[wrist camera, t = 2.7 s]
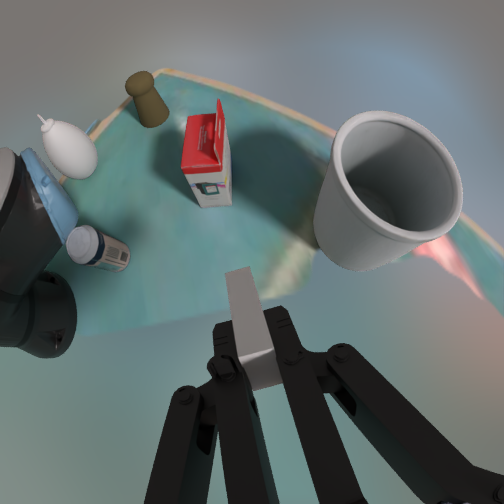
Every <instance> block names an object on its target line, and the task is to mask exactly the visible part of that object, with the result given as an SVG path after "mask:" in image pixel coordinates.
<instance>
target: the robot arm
mask: <svg viewBox="0 0 504 504" xmlns="http://www.w3.org/2000/svg"><path fill="white" fill-rule="evenodd" d="M77 221H78V210H77V208H76V206H75V205H74V203H73V202H72V200H71V199H70V197H69V196H68V195H67V193H66V192H65V190H64V189H63V188H62V186H61V185H60V184H59V182H58V181H57V180H56V178H55V177H54V176H53V174H52V173H51V172H50V170H49V169H48V167H47V166H46V165H45V164H44V162H43V161H42V160H41V158H40V157H39V156H38V155H37V154H36V152H35V151H33V150H32V148H27V149H25V150H24V151H22V152H21V153H20V156H17V155H16V154H15V153H14V152H13V151H12V150H10V149H9V148H1V149H0V347H18V348H20V349H22V350H24V351H26V352H28V353H30V354H32V355H34V356H36V357H39V358H55V357H59V356H60V355H62V354H63V353H64V352H65V351H66V350H67V349H68V348H69V346H70V344H71V342H72V340H73V338H74V335H75V331H76V324H77V309H76V303H75V299H74V295H73V293H72V290H71V288H70V286H69V285H68V283H67V282H66V281H65V280H64V279H63V278H62V277H61V276H59V275H57V274H55V273H52V272H49V271H45V270H44V269H45V267H46V266H47V265H48V263H49V262H50V261H51V259H52V258H53V257H54V255H55V254H56V253H57V252H58V250H59V249H60V248H61V246H62V245H64V244H65V242H66V239H67V237H68V236H69V234H70V233H71V232H72V230H73V229H74V227H75V226H76V224H77ZM225 277H226V284H227V290H228V297H229V304H230V310H231V316H232V320H230V321H226V322H222V323H218V324H216V325H215V327H214V329H213V345H214V357H212V358H211V359H210V360H209V362H208V363H207V369H208V371H209V373H210V374H211V376H212V379H211V380H210V381H208V382H207V383H205V384H203V385H202V386H200V387H198V388H195V387H193V386H189V385H188V386H183V387H180V388H178V389H177V391H175V392H174V394H173V396H172V399H171V403H170V406H169V409H168V413H167V416H166V420H165V423H164V427H163V431H162V434H161V438H160V442H159V445H158V449H157V453H156V457H155V461H154V464H153V468H152V472H151V476H150V480H149V484H148V488H147V493H146V496H145V501H144V504H206V503H207V497H208V491H209V484H210V478H211V472H212V466H213V459H214V453H215V447H216V440H217V434H218V432H219V440H220V448H221V456H222V464H223V470H224V478H225V485H226V491H227V498H228V504H279V499H278V495H277V491H276V487H275V483H274V479H273V474H272V470H271V466H270V462H269V457H268V453H267V449H266V445H265V440H264V436H263V432H262V428H261V422H260V418H259V413H258V409H257V404H256V400H255V398H254V396H253V391H255V390H259V389H263V388H267V387H271V386H274V385H277V384H281V383H283V385H284V388H285V391H286V394H287V398H288V402H289V405H290V408H291V412H292V415H293V418H294V422H295V425H296V428H297V432H298V435H299V438H300V442H301V445H302V448H303V451H304V455H305V458H306V461H307V465H308V468H309V471H310V474H311V478H312V481H313V484H314V487H315V491H316V494H317V497H318V500H319V504H368V502H367V501H366V499H365V498H364V496H363V494H362V492H361V489H360V487H359V484H358V481H357V479H356V476H355V474H354V471H353V468H352V466H351V464H350V461H349V458H348V455H347V453H346V450H345V448H344V446H343V443H342V440H341V438H340V435H339V433H338V430H337V427H336V425H335V422H334V420H333V417H332V415H331V412H330V410H329V407H328V405H327V402H326V400H325V397H324V395H323V393H330V395H331V396H332V397H333V398H334V399H335V401H336V402H337V403H338V404H339V406H340V407H341V408H342V409H343V410H344V412H345V413H346V414H347V415H348V417H349V418H350V419H351V420H352V421H353V422H354V424H355V425H356V426H357V427H358V429H359V430H360V431H361V432H362V433H363V435H364V436H365V437H366V438H367V439H368V441H369V442H370V443H371V444H372V445H373V446H374V448H375V449H376V450H377V451H378V452H379V453H380V455H381V456H382V457H383V458H384V459H385V460H386V462H387V463H388V464H389V465H390V466H391V467H392V469H393V470H394V471H395V472H396V473H397V474H398V476H399V477H400V478H401V479H402V480H403V481H404V482H405V483H406V485H407V486H408V487H409V488H410V489H411V490H412V491H413V493H414V494H415V495H416V496H417V497H418V498H419V499H420V500H421V501H422V502H423V503H425V504H504V475H501V474H497V473H494V472H490V471H488V470H484V469H482V468H479V467H476V466H473V465H472V464H471V463H470V462H469V461H468V460H467V459H466V458H465V457H464V456H463V455H462V454H461V453H460V452H459V451H458V450H457V449H456V448H455V447H454V446H453V445H452V444H451V443H450V442H449V441H448V440H447V439H446V438H445V437H444V436H443V435H442V434H441V433H440V432H439V431H438V430H437V429H436V428H435V427H434V426H433V425H432V424H431V423H430V422H429V421H428V420H427V419H426V418H425V417H424V416H423V415H422V414H421V413H420V412H419V411H418V410H417V409H416V408H415V407H414V406H413V405H412V404H411V403H410V402H409V401H407V399H405V397H404V396H403V395H402V394H400V392H399V391H398V390H397V389H396V388H394V387H393V386H392V385H391V384H390V383H389V382H388V381H387V380H386V379H385V378H384V377H383V376H382V375H381V374H380V373H379V372H378V371H377V370H376V369H375V368H374V367H373V366H372V365H371V364H370V363H369V362H368V361H367V360H366V359H365V358H364V357H363V356H362V355H361V354H360V353H359V352H358V351H357V350H356V349H355V348H354V347H352V346H351V345H349V344H345V343H340V344H336V345H333V346H332V347H331V348H330V349H328V351H327V352H311V351H308V350H306V349H305V348H304V347H303V346H302V345H301V342H300V340H299V337H298V335H297V332H296V330H295V328H294V325H293V323H292V320H291V318H290V315H289V313H288V311H287V310H286V309H285V308H284V307H282V306H277V307H274V308H271V309H267V310H264V311H263V310H262V307H261V303H260V300H259V297H258V293H257V290H256V287H255V283H254V280H253V276H252V273H251V270H250V266H249V267H245V268H242V269H238V270H235V271H231V272H228V273H225ZM252 390H253V391H252Z"/></svg>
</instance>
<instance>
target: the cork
mask: <svg viewBox="0 0 504 504" xmlns="http://www.w3.org/2000/svg"><path fill="white" fill-rule="evenodd" d="M125 88H126V91H127V93H128V94H129V95H130V96H132V97H133V99H134V102H135V106H136V109H137V112H138V115H139V118H140V121H141V124H142V125H143V126H144V127H147V128H153V127H157V126H159V125H161V124H162V123H163V122H165V121H166V119H167V118H168V116H169V109H168V108H167V106H166V104H165V103H164V101H163V100H162V98H161V97H160V95H159V94H158V92H157V90H156V89H155V87H154V78H153V76H152V75H151V74H150V73H149V72H147V71H140V72H137V73H135V74H133V75H132V76H130V77H129V78H128V80H127V81H126V84H125Z"/></svg>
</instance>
